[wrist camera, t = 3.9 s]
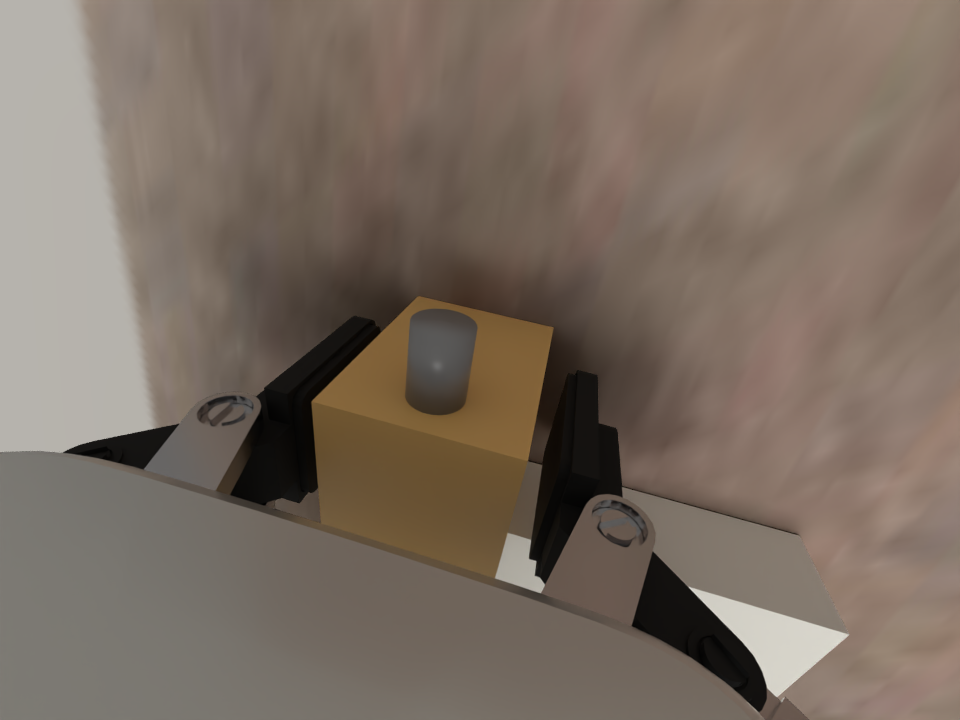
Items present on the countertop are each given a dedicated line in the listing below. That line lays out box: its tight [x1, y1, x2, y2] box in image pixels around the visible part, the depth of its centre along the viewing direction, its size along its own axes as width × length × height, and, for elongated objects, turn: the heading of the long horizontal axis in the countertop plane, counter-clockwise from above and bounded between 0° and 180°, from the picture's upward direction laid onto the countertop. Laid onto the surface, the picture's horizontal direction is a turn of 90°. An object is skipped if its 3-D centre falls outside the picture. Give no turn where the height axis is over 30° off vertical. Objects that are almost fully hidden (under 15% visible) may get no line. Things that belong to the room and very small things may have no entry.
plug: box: [311, 296, 554, 578], centre depth 10 cm, size 6×4×6 cm
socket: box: [495, 461, 849, 697], centre depth 16 cm, size 12×12×3 cm
